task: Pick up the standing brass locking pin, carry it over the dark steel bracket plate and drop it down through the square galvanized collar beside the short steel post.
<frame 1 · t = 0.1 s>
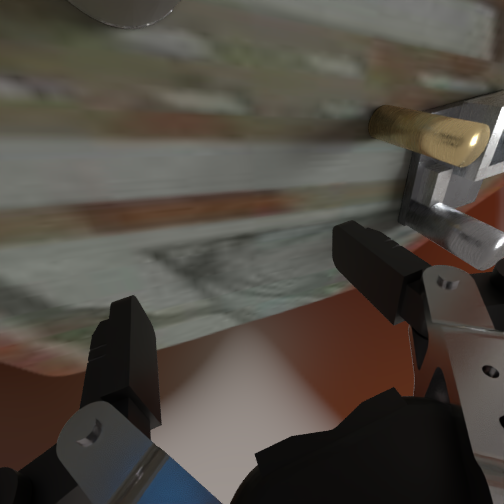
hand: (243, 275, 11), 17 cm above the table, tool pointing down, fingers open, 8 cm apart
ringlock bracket: (447, 161, 35), on the table
wedge pin: (381, 122, 29), on the table
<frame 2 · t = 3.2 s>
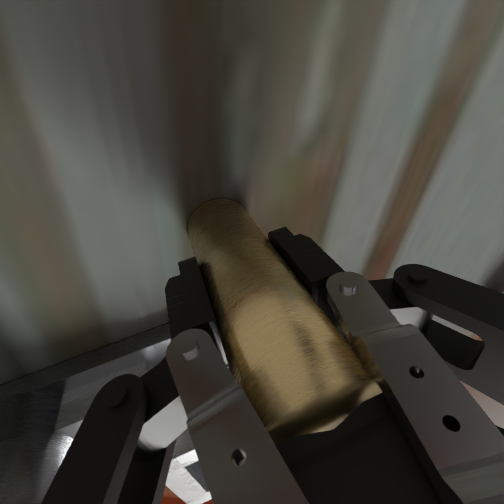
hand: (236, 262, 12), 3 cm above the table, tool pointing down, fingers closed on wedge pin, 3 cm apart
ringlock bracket: (160, 392, 19), on the table
wedge pin: (219, 228, 14), on the table, touching gripper
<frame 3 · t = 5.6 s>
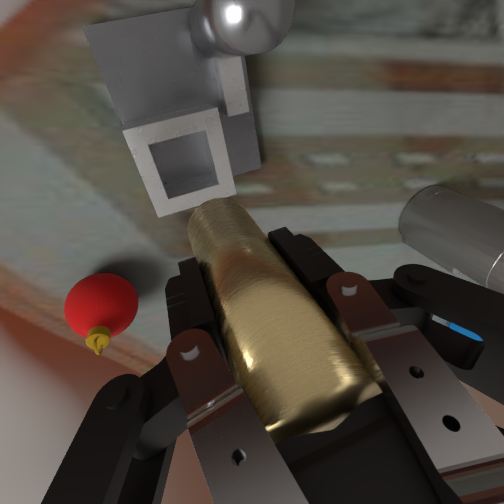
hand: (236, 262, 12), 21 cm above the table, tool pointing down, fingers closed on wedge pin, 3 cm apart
christmas ornament: (106, 284, 33), on the table
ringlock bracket: (187, 109, 26), on the table
wedge pin: (219, 227, 14), point 17 cm above the table, touching gripper
when the fingers open (6 cm above the table, at t = 8.0 s): wedge pin drops 2 cm, resting on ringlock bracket.
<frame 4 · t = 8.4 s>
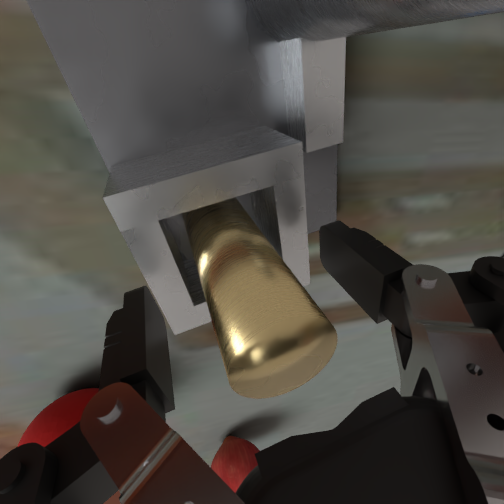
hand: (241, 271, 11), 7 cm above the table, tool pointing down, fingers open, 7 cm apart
christmas ornament: (88, 395, 22), on the table
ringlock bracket: (226, 136, 15), on the table
wedge pin: (211, 213, 16), point 1 cm above the table, touching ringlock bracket
onion: (228, 434, 33), on the table
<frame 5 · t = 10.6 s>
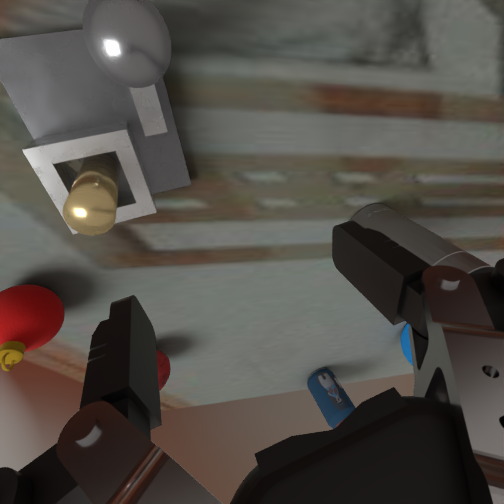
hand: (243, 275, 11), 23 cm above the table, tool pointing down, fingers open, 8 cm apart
christmas ornament: (34, 294, 33), on the table
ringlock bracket: (108, 125, 26), on the table
soda can: (317, 374, 68), on the table
wedge pin: (101, 170, 27), point 1 cm above the table, touching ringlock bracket
onion: (148, 349, 44), on the table
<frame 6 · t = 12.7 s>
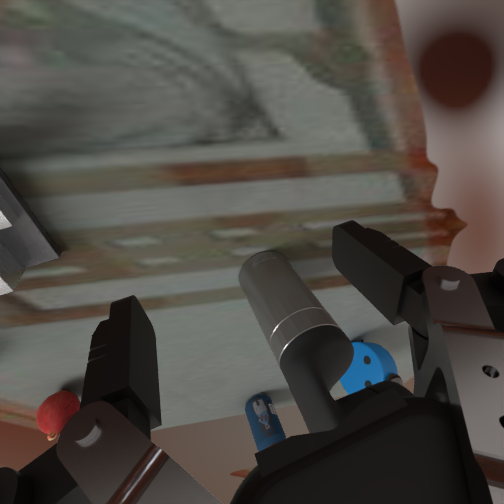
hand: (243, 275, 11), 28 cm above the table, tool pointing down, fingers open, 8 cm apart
soda can: (256, 399, 71), on the table
onion: (64, 389, 48), on the table
alarm clock: (348, 348, 73), on the table
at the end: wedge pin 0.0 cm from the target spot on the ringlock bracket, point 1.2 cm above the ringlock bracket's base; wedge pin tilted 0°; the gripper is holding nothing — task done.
